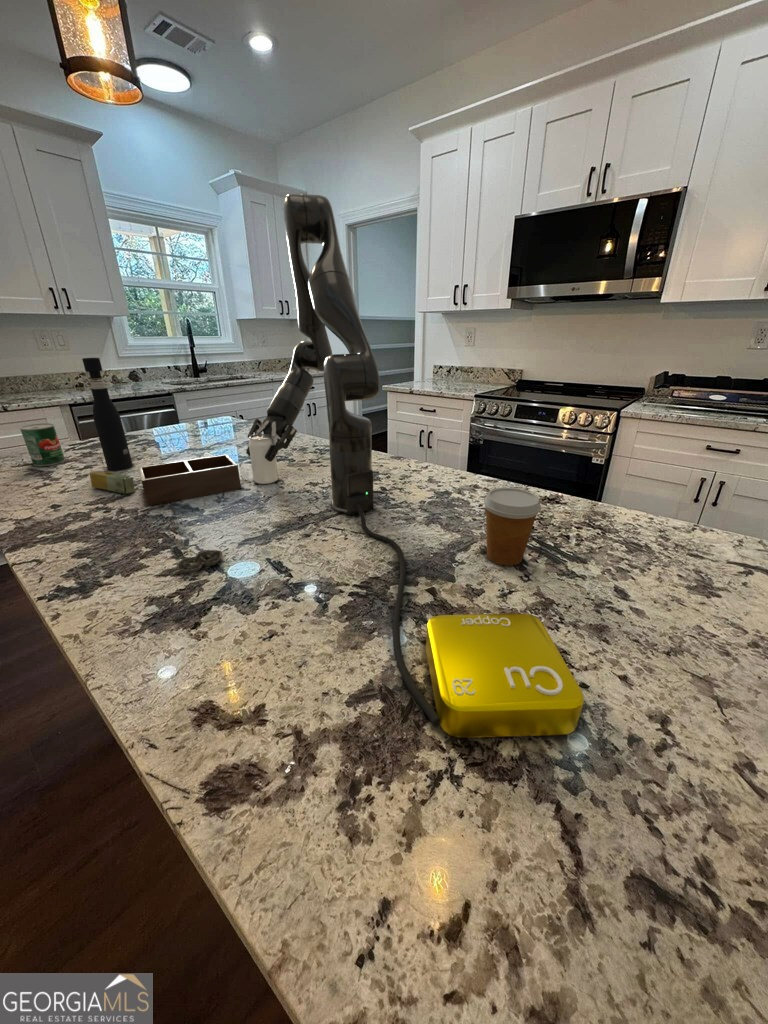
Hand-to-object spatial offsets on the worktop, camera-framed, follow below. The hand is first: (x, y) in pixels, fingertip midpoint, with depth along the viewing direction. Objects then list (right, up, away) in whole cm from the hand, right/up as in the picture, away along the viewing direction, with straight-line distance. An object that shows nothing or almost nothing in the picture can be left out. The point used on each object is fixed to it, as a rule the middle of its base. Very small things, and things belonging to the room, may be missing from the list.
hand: (258, 457), depth 108 cm
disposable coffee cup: (+55, -23, -32) cm, 67 cm away
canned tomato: (-68, +1, +17) cm, 71 cm away
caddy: (-16, -9, -2) cm, 18 cm away
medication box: (-36, -9, -3) cm, 37 cm away
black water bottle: (-45, -1, +14) cm, 47 cm away
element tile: (+46, -35, -58) cm, 82 cm away
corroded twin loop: (0, -24, -35) cm, 42 cm away
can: (+1, -6, +4) cm, 7 cm away
